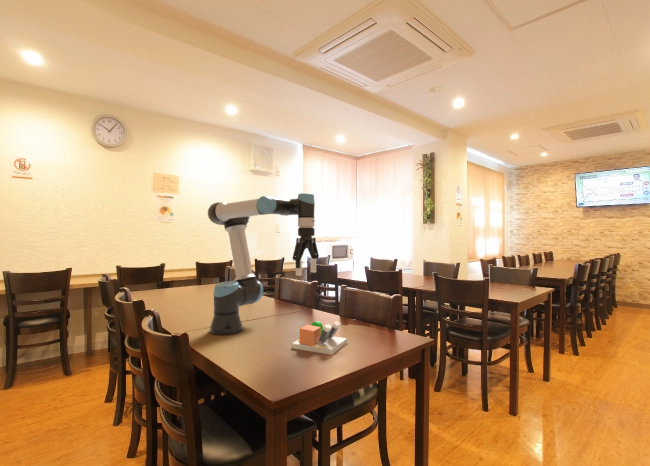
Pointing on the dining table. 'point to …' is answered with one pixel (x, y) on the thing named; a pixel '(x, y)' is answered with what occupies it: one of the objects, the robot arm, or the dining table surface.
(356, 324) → the dining table surface
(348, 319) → the dining table surface
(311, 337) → the cap
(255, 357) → the dining table surface
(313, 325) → the mechanical part
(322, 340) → the lever tagged
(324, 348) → the panel
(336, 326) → the lever plain
